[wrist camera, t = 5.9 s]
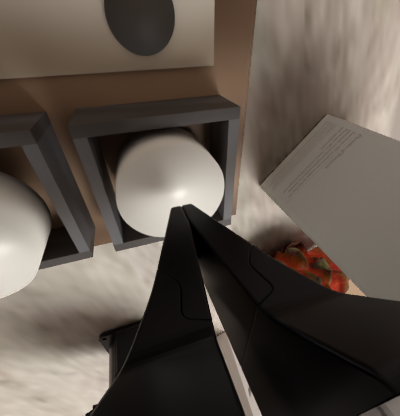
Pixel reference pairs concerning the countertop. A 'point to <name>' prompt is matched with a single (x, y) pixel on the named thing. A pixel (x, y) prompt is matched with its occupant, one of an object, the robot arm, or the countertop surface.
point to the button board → (116, 101)
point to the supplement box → (346, 200)
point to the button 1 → (165, 178)
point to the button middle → (21, 233)
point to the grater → (238, 377)
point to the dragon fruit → (313, 266)
